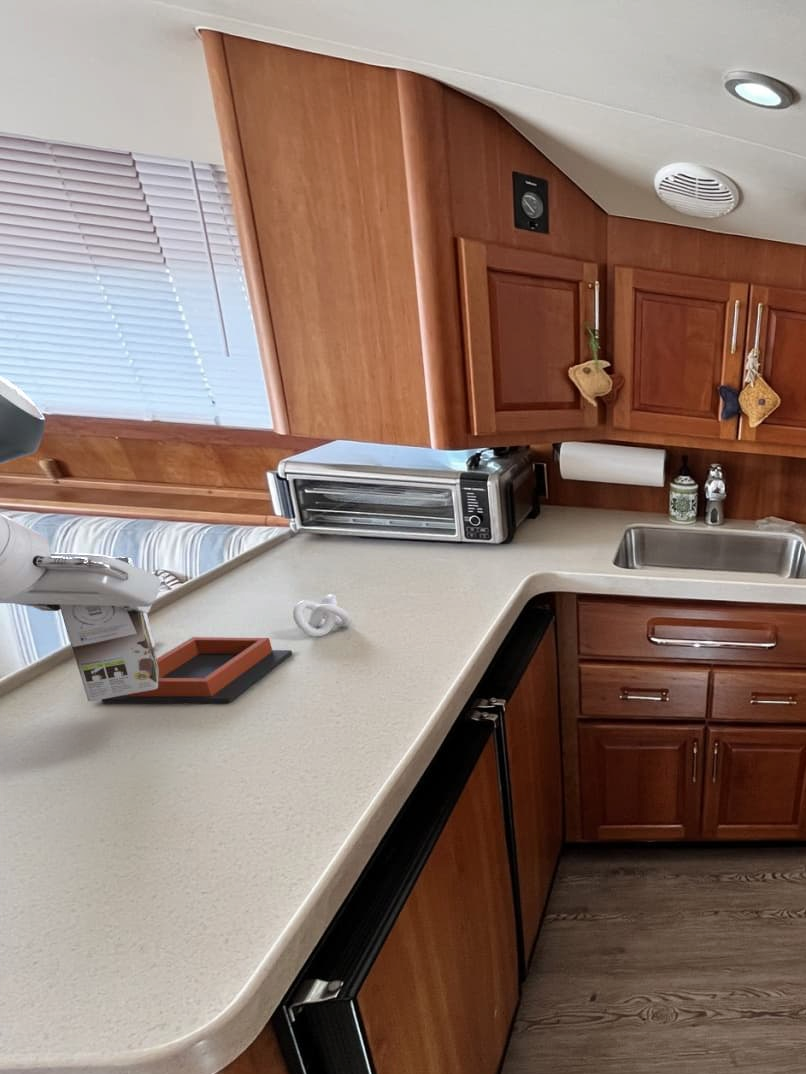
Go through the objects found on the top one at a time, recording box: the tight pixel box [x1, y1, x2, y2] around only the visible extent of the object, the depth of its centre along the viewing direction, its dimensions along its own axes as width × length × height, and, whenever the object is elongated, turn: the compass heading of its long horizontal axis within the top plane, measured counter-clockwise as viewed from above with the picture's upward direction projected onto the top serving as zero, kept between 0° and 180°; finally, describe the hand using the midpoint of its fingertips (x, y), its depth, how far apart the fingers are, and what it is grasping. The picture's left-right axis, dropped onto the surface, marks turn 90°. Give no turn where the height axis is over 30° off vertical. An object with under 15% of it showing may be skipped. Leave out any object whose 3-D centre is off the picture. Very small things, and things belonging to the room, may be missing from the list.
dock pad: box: [101, 636, 293, 704], centre depth 96 cm, size 16×15×3 cm
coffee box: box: [59, 556, 159, 702], centre depth 80 cm, size 9×6×16 cm
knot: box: [292, 593, 353, 638], centre depth 113 cm, size 8×8×6 cm
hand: (100, 606), depth 78 cm, fingers closed on coffee box, 8 cm apart
